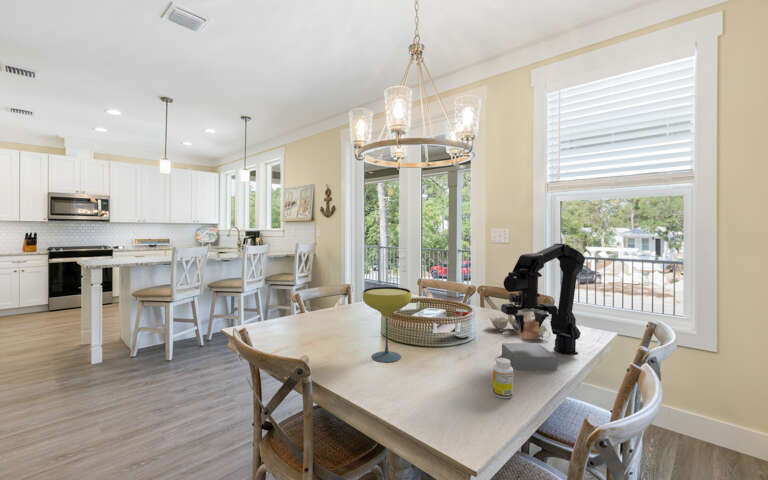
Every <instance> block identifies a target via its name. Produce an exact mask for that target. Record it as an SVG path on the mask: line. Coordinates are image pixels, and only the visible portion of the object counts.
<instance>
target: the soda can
mask: <svg viewBox="0 0 768 480" xmlns="http://www.w3.org/2000/svg"><path fill="white" fill-rule="evenodd" d="M467 314H470V312H469V310H468V309H466V308H456V309H454V313H453V318H454V317H460V316H465V315H467Z"/></svg>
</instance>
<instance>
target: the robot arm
mask: <svg viewBox="0 0 768 480" xmlns="http://www.w3.org/2000/svg"><path fill="white" fill-rule="evenodd" d="M554 259H557V260H558V261H559V269H560V270H561V272H562V278H561V285H560V293H559V300H558V305H557V306H556V305H554V304H551V302H550V303H546V302H545V303H544V302H543V303H540V304H538V303H539V299H538V298H540V297H541V296H540V295H541V294H540V293H539V278H541V277H543V275H542V274H541V273H540V272H539V271H541V270H542V269H543V268H544V267H545V265H546V263H549V262H550V261H552V260H554ZM585 261H586V257H585V256H584V255H583V253H582V252H580V251H579V250H577V249H575V248H573V247H571V246H570V245H569V244H567V243H558V242H557V243H554V244H553V245H551V246H548V247H547V248H544V249H542V250H540V251H537V252H535V253H533V252H532V253H524V254H521V255H520V256H519V257H518V259H517V261H516V263H515V266H514V267H513V269H512V271H510V272H508V273H507V274H508V275H506V277H505V278H504V280H503V281H502V282H503V288H504V289H505V290H506V291H507V292H509V295H508V300H509V301H510V302H513V304H514V305H513V304H511V303H510V302H509V301H508V302H509V303H502V304H501V306H500V312H502V313H503V314H505V315H507V316H508V315H513V316H514V317H515V319H516V321H517V324H518V327H519V330H520V332H521V333H523V323H524V315H522V312H528V311H530V312H533V314H534V319H535V320H536V321H538V322H539V328H540V326H541V325H542V324H543V323H544V322H545V320H546V318H548V317H550V315H551V317H550V321H549V322H550V328H551V333H552V335H555V339H554V347H553V350H554V351H556V352H558V353H560V354H561V355H578V354H579V352H578V351H577V350H576V345H577V344H576V341H577V340H579V339H580V337H581V331H580V329H579V328H578V327H577V323H576V322H577V320H576V317H575V315H574V313H573V309H574V301H575V294H576V286H577V277H578V275H579V274H580V272H582V271H583V268H584V264H585V263H586V262H585ZM515 292H518V295H517V294H516V293H515ZM518 305H520V306H518Z"/></svg>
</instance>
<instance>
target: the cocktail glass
mask: <svg viewBox="0 0 768 480" xmlns="http://www.w3.org/2000/svg"><path fill="white" fill-rule="evenodd" d="M411 300H412V291H411V289H409V288H405V287H404V288H403V287H398V286H396V287H395V286H377V287H368V288H366V289H363V291H362V301H363V302H364V304H366V306H368V307H370V308H372V309H373V310H375V311H377V312H380V314H381V315H382V316H383V317H384V318H385V348H384V351H383V350H382V351H377V352H375V353H373V354H372V355H371V357H372V359H373V360H374V361H376V362H379V363H395V362H398V361H400V359H401V358H402V355H401V354H399V352H396V351H391V350H389V343H388V341H389V340H388V339H389V337H388V336H389V335H388V334H389V333H388V331H389V330H388V327H389V326H388V322H389V320H388V319H390V318H391V316H392V314H394V313H395V312H397V311H399V310H401V309H403V308H405V307H406V306H408V305H409V303H411Z"/></svg>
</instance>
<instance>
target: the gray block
mask: <svg viewBox="0 0 768 480" xmlns="http://www.w3.org/2000/svg"><path fill="white" fill-rule="evenodd" d="M501 356H502V358H506V359H509V360H510V364H511V365H510V366H511V367H512V368H513V369H515V370H516V371H558V356H557V355H556V354H554V353H553V352H551V351H550V350H549V349H547V348H546V347H545V346H544V345H542V344H540V343H538V342H530V343H529V342H521V343H520V342H511V343H510V342H508V343H507V342H502V343H501Z"/></svg>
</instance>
